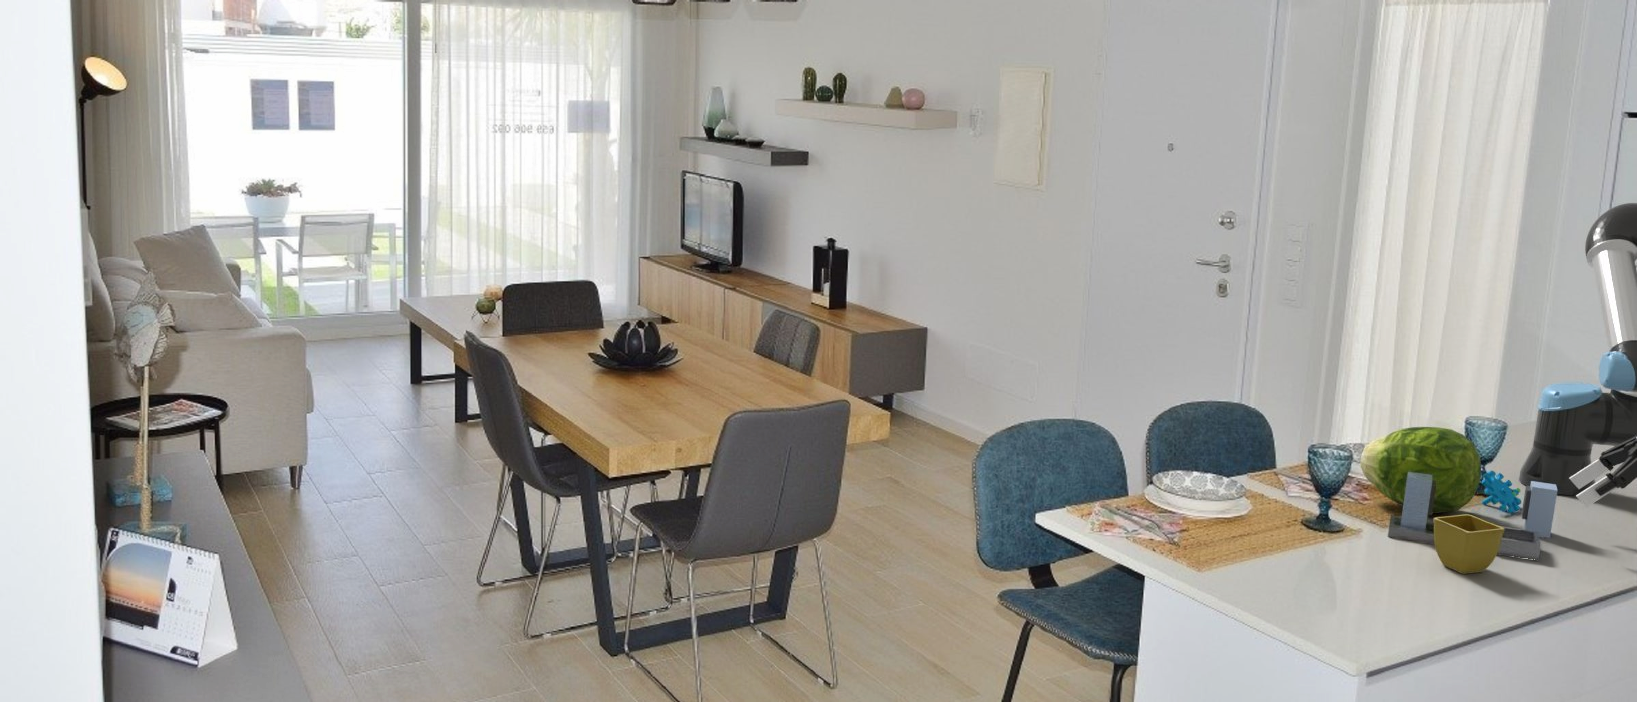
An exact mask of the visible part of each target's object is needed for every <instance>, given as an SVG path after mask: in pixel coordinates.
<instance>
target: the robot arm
mask: <svg viewBox="0 0 1637 702" xmlns="http://www.w3.org/2000/svg"><path fill="white" fill-rule="evenodd" d="M1584 246H1585V249H1584V251H1585V257H1586V261H1587V262H1586V263H1587V264H1588V265H1589V267H1591V268H1592V269H1593V271H1594V275H1595V276H1594V277H1595V282H1596V287H1597V293H1598V298H1599V305H1600V309H1601V315H1602V321H1603V325H1604V330H1605V331H1604V332H1605V336H1606V341H1607V342H1606V343H1607V347H1608V351H1606V352H1604V353H1603V355H1602V356H1601V358H1600V361H1599V365H1598V380H1599V383H1600V385H1601V386H1602V387H1604V388H1605V389H1608V390H1610V392H1603V390H1602V388H1601V387H1600V386H1599V385H1596V384H1593V383H1584V382H1573V381H1572V382H1570V381H1569V382H1558V383H1553V384H1549V385H1547V386H1546V387H1544V388H1543V390H1542V392H1541V395H1540V399H1539V402H1538V405H1537V408H1538V412H1537V417H1536V423H1535V429H1534V437H1533V443H1532V448H1531V449H1530V450H1531V451H1530V452H1529V454H1528V455H1527V458H1526V460H1525V461H1524V463H1523V465H1522V466H1521V468H1520V471H1519V476H1518V481H1519V482H1520V483H1521V484H1522V485H1525V487H1526V486H1530V484H1531V481H1535V482H1542V483H1549V484H1556V487H1557V490H1558V491H1557V495H1563V496H1564V495H1565V496H1575V497H1576V498H1577V499H1578V500H1579V501H1580V502H1581V504H1583V506H1584V507H1585V508H1587V507H1589V506H1591V505H1593V504H1594V503H1595V502H1597V501H1599V500H1601V499H1602V498H1604V497H1605V496H1607V495H1608V494H1610V493H1612V492H1613V491H1615V490H1616V489H1619V488H1620V489H1626V487H1627V486H1629V485H1630V484H1631V483H1632V482H1633V481H1634V480H1636V479H1637V264H1636V262H1637V202H1628V203H1623V204H1622V203H1621V204H1619V205H1616V206H1614V207H1611V208H1609V209H1608V210H1607V211H1605V212H1603V214H1601V215H1600V216H1599V217H1598V218H1597V219H1596V220H1595V222H1594V223H1593V224H1592V225H1591V227H1590V229H1589V231H1588V233H1587V236H1586V240H1585V245H1584ZM1593 445H1601V446H1608V447H1609V446H1612V447H1610V448H1609V449H1606V450H1605V451H1602V452H1601V453H1600V456H1599V457H1598V459H1596V460H1595V461H1593V462H1592V457H1591V456H1592V450H1593ZM1618 465H1619V467H1617V468H1616V469H1615V470H1614V472H1612V470H1613V469H1614V467H1615V466H1618ZM1608 471H1609V473H1608ZM1606 472H1607V473H1606ZM1611 472H1612V473H1611ZM1604 474H1605V476H1603V475H1604ZM1601 476H1603V477H1602V478H1601V479H1599V480H1598V481H1596V479H1597V478H1599V477H1601Z"/></svg>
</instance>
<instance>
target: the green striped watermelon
mask: <svg viewBox="0 0 1637 702" xmlns="http://www.w3.org/2000/svg"><path fill="white" fill-rule="evenodd" d="M1481 462H1482V461H1481V456H1480V454H1479V452H1478V450H1477V449H1476V447H1475V445H1474V443H1473V442H1472V441H1471V440H1470V439H1469V438H1467V436H1465V435H1464V434H1462V433H1460V432H1459V431H1458V432H1457V431H1456V430H1454V429H1451V428H1445V427H1438V426H1437V427H1434V426H1413V427H1412V426H1411V427H1406V428H1401V429H1398V430H1395V431H1392V432H1391V433H1389V434H1387V435H1385V436H1382V437H1378V438H1376V439H1374V440H1373V441H1370V442H1369V443H1368V444H1367V445H1366V446H1365V447H1364V448H1363V450H1362V453H1361V457H1360V465H1359V466H1360V468H1361V469H1360V470H1361V471H1362V473H1363V475H1364V476H1365V478H1366V480H1367V481H1368V482H1370V483H1371V484H1372V485H1373V486H1374V487H1375V488H1376V489H1377V490H1378V491H1379V492H1380V493H1381V494H1382V495H1383V496H1385V497H1386V498H1388V499H1389V500H1391V501H1392V502H1394V503H1396V504H1398V505H1401V506H1403V504H1404V497H1405V489H1406V482H1407V475H1408V472H1415V473H1422V474H1428V475H1432V481H1436V490H1435V497H1434V504H1433V511H1432V514H1433V513H1446V512H1447V513H1448V512H1452V511H1453V512H1454V511H1459V510H1461V509H1462V508H1463V507H1464V506H1466V505H1468V504H1469V503H1470V502H1471V501H1472V499H1473V498H1474V496H1475V494H1476V491H1477V490H1478V488H1479V485H1480V482H1481V478H1482V477H1481V475H1482V474H1481V473H1482V467H1481V466H1482V463H1481Z"/></svg>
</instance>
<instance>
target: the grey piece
mask: <svg viewBox="0 0 1637 702" xmlns="http://www.w3.org/2000/svg"><path fill="white" fill-rule="evenodd" d="M1435 490H1436V481H1432V475H1428V474H1422V473H1415V472H1408V475H1407V482H1406V489H1405V497H1404V504H1403V505H1402V512H1401V513H1402V514H1401V515H1396V514H1395V515H1394V514H1390V516H1389V517H1390V518H1389V525H1388V534H1387V537H1389V538H1392V539H1393V538H1394V539H1399V540H1405V541H1406V540H1407V541H1413V542H1418V543H1425V544H1430V545H1435V542H1434V520H1433V521H1432V520H1428V516H1433V513H1432V511H1433V504H1434V497H1435ZM1499 526H1500V527H1502V528H1504V533H1503V536H1502V540H1501V543H1500V547H1499V550H1498V553H1497V554H1500V555H1499V556H1503V555H1505V556H1504V557H1509V556H1514V557H1513V558H1515V557H1520V558H1519V559H1521V558H1528V559H1533V560H1534V559H1535V560H1538V561H1539V560H1540V559H1539V558H1540V553H1541V546H1542V545H1541V540H1540V537H1539V534H1538V532H1535V531H1528V530H1524V529H1522V528H1516V527H1515V528H1514V527H1509V526H1502V525H1499ZM1533 560H1532V561H1533Z"/></svg>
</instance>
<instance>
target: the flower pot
mask: <svg viewBox="0 0 1637 702" xmlns="http://www.w3.org/2000/svg"><path fill="white" fill-rule="evenodd" d="M1433 522H1434V542H1435V544H1434V548H1435V551H1436V554H1437V556H1438V558H1439V561H1440V562H1441V564H1442V565H1443V566H1445V567H1447V568H1448V569H1451V570H1454V571H1456V572H1457V573H1460V574H1463V575H1465V574H1474V573H1482V572H1485V571H1486V569H1487V568H1489V567H1490V565H1491V564H1492V563H1493V562H1494V560H1495V559H1496V557H1497V553H1498V550H1499V547H1500V543H1501V540H1502V536H1503V533H1504V528H1502V527H1500V526H1501V525H1497V524H1495V523H1492V522H1489V521H1486V520H1484V519H1482V518H1479V517H1477V516H1474V515H1471V514H1466V513H1465V514H1457V515H1448V516H1437V517H1433Z"/></svg>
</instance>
